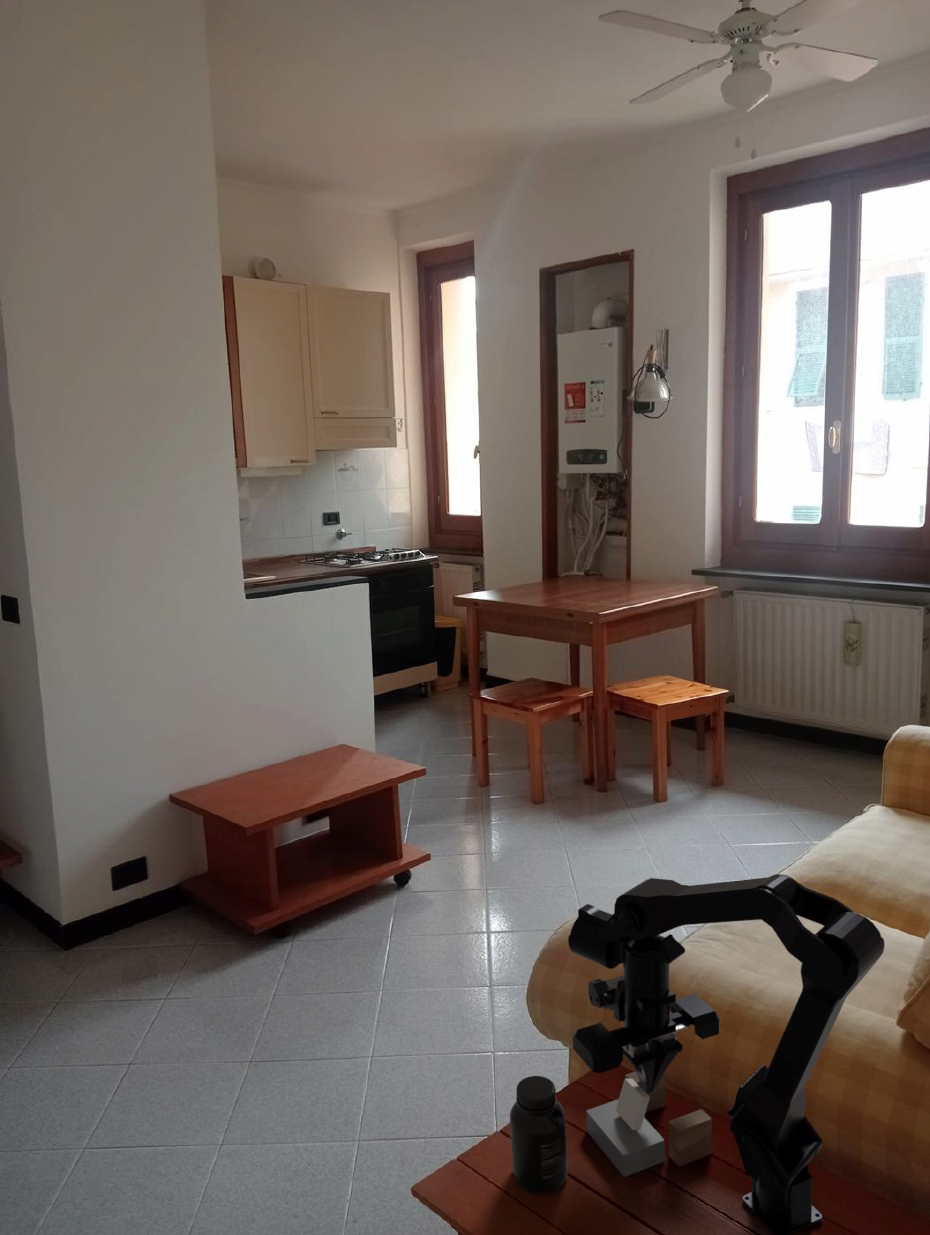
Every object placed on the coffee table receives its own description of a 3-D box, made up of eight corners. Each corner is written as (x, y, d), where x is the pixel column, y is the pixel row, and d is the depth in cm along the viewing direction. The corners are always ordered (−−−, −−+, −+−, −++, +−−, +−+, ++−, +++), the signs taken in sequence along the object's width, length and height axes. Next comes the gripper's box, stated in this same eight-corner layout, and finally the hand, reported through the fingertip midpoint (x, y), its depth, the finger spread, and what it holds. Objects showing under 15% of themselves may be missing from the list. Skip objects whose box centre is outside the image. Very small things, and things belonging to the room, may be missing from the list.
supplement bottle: (567, 1155, 121) (564, 1070, 119) (568, 1196, 114) (565, 1107, 112) (513, 1153, 122) (510, 1069, 120) (511, 1194, 115) (507, 1106, 113)
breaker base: (664, 1161, 119) (664, 1139, 119) (623, 1177, 117) (623, 1155, 116) (625, 1116, 127) (625, 1096, 127) (586, 1130, 125) (586, 1110, 124)
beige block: (711, 1153, 120) (711, 1118, 119) (678, 1167, 118) (678, 1131, 117) (701, 1143, 122) (701, 1108, 121) (669, 1156, 120) (668, 1121, 119)
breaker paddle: (640, 1130, 120) (649, 1097, 120) (632, 1130, 120) (642, 1096, 119) (623, 1110, 124) (632, 1078, 123) (615, 1110, 123) (624, 1078, 123)
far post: (665, 1105, 129) (665, 1072, 128) (634, 1117, 127) (633, 1083, 126) (656, 1096, 131) (656, 1064, 130) (625, 1108, 129) (625, 1074, 128)
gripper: (671, 934, 130) (672, 1037, 133) (550, 967, 123) (554, 1075, 126) (722, 973, 120) (722, 1084, 123) (594, 1012, 113) (597, 1128, 116)
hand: (647, 1091), depth 122 cm, fingers closed
